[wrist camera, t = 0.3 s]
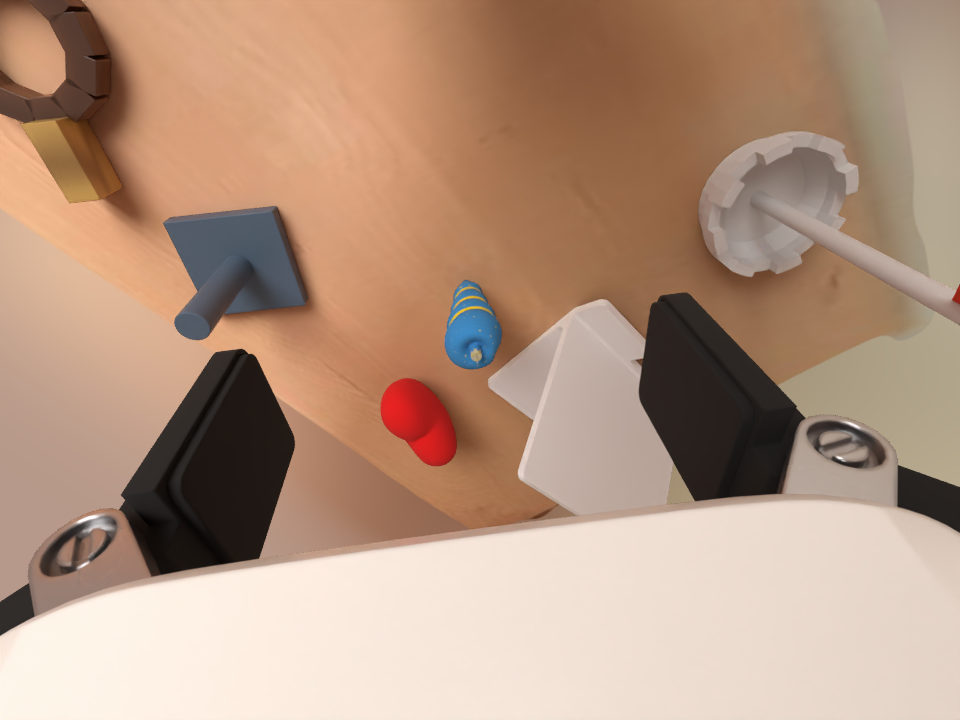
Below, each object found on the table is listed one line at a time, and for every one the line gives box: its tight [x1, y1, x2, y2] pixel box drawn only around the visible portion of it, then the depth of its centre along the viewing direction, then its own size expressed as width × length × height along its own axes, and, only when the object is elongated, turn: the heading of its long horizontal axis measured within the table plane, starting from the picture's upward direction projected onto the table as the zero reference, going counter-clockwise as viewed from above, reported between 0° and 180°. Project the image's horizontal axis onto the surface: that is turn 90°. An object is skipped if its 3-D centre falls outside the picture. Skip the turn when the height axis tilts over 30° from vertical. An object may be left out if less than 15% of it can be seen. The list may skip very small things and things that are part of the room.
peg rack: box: [163, 206, 308, 340], centre depth 41 cm, size 10×10×12 cm
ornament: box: [445, 280, 502, 369], centre depth 44 cm, size 5×5×15 cm
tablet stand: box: [488, 299, 673, 516], centre depth 54 cm, size 18×25×17 cm
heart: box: [381, 378, 457, 466], centre depth 54 cm, size 12×5×10 cm, turn 31°
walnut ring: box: [0, 0, 123, 203], centre depth 35 cm, size 16×11×4 cm, turn 5°
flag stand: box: [698, 131, 960, 325], centre depth 35 cm, size 13×13×30 cm
